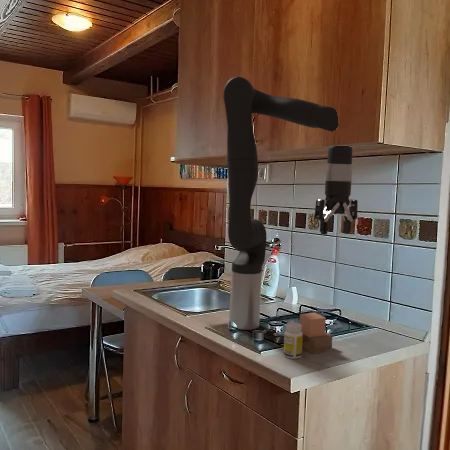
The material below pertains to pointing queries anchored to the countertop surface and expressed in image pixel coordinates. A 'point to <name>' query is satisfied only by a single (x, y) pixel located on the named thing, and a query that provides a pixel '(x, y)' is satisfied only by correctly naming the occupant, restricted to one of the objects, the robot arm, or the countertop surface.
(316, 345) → the walnut block
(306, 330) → the terracotta cube
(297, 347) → the supplement bottle
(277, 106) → the robot arm
